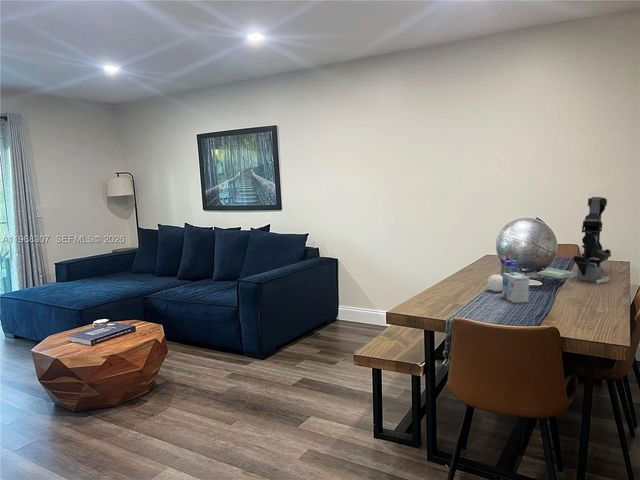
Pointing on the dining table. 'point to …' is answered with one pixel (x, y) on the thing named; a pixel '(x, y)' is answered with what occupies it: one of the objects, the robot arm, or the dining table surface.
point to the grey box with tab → (590, 273)
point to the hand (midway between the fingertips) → (589, 274)
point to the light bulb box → (515, 287)
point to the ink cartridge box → (508, 265)
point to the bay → (603, 279)
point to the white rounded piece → (495, 283)
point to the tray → (555, 273)
